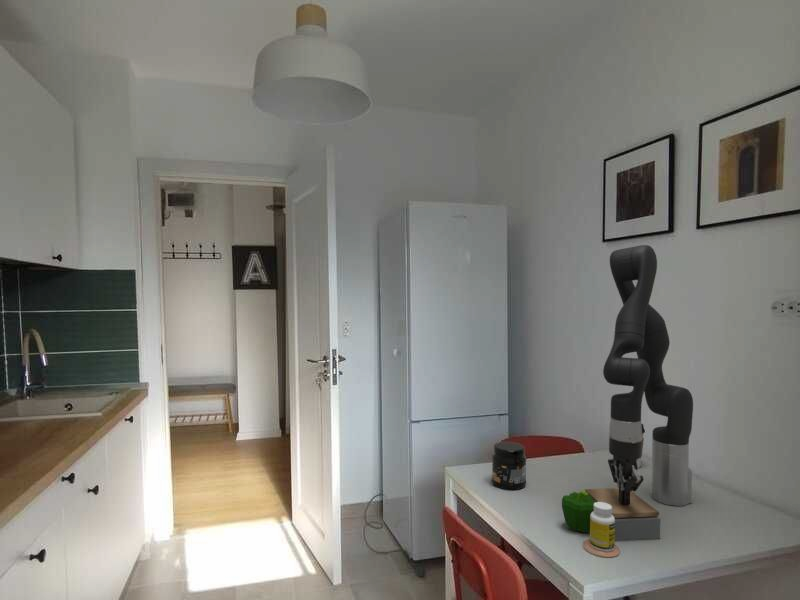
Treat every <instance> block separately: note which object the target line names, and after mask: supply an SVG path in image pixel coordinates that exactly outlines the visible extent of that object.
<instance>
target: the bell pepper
mask: <svg viewBox="0 0 800 600" xmlns="http://www.w3.org/2000/svg"><path fill="white" fill-rule="evenodd" d="M594 503H596V502H595V500H592V498H591V497H590V495H589V494H588V493H587V492H585V490H584V491H583V490H582V491H579V492H576V491H574V492H573V491H572V492H571V493H569V495H566V494H565V495H562V498H561V509H562V513H563V518H564V522H565V524H566V526H567V527H568V528H569V529H570V530H571V531H579V532H581V533H590V515H591V513H592V512H593V511H594Z"/></svg>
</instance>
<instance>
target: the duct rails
mask: <svg viewBox="0 0 800 600" xmlns="http://www.w3.org/2000/svg"><path fill="white" fill-rule="evenodd" d="M641 540H644V541H645V540H661V518H660V516H648V517H623V518H615V542H621V541H641Z"/></svg>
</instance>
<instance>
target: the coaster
mask: <svg viewBox="0 0 800 600" xmlns="http://www.w3.org/2000/svg"><path fill="white" fill-rule="evenodd" d="M582 547H583V549H584V550H585V551H586V552H588V553H589V554H591V555H593V556H595V557H599V558H605V559H608V558H609V559H611V558H616V557H618V556H619V555H620V553H621V549H620V547H619V545H617V544H616V543H615V544H614V550H612V551H610V552H603V551H599V550H596V549H594V548H593V547H592V546H591V545H590V538H586V539H584V540H583V542H582Z"/></svg>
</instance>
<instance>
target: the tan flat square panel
mask: <svg viewBox="0 0 800 600" xmlns="http://www.w3.org/2000/svg"><path fill="white" fill-rule="evenodd" d="M584 491H585V492H587V493H588V494H589V495H590V497H591V498H592V500H595V502H604V503H607V504H610V505H611V506H612V515H613V516H614V518H623V517H648V516H657V517H660V511H658V510H657V509H656V508H654V507H653V506H652V505H650V504H649V503H648V502H646V501H645V500H644V499H643V498H642V497H640V496H638V495H637V494H636V493H634V491H630V504H629V505H622V504H621V503H620V502H619V488H618V487H615V488H613V487H612V488H588V489H584Z"/></svg>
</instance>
